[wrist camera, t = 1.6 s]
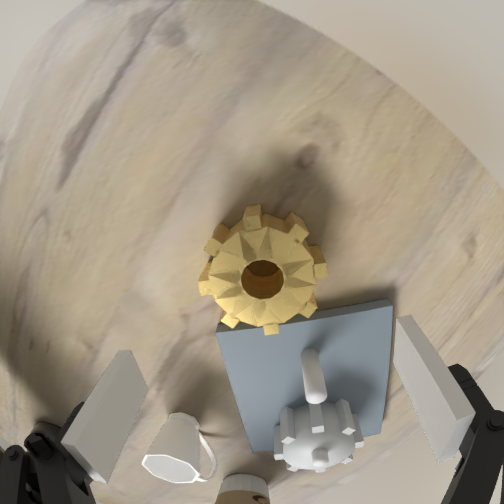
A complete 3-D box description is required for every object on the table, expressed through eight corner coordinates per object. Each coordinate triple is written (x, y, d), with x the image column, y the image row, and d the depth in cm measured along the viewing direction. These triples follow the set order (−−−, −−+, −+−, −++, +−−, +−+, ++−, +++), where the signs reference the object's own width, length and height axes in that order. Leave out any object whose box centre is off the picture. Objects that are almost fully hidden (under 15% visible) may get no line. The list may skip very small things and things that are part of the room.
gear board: (253, 444, 36) (250, 488, 29) (217, 324, 30) (204, 373, 23) (377, 425, 35) (390, 467, 28) (387, 298, 29) (416, 340, 22)
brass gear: (220, 314, 30) (213, 340, 26) (197, 215, 27) (184, 227, 23) (323, 300, 29) (331, 325, 25) (311, 196, 26) (319, 205, 22)
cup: (179, 397, 34) (163, 447, 26) (237, 438, 36) (231, 486, 29) (147, 416, 36) (129, 461, 28) (202, 453, 38) (193, 497, 30)
